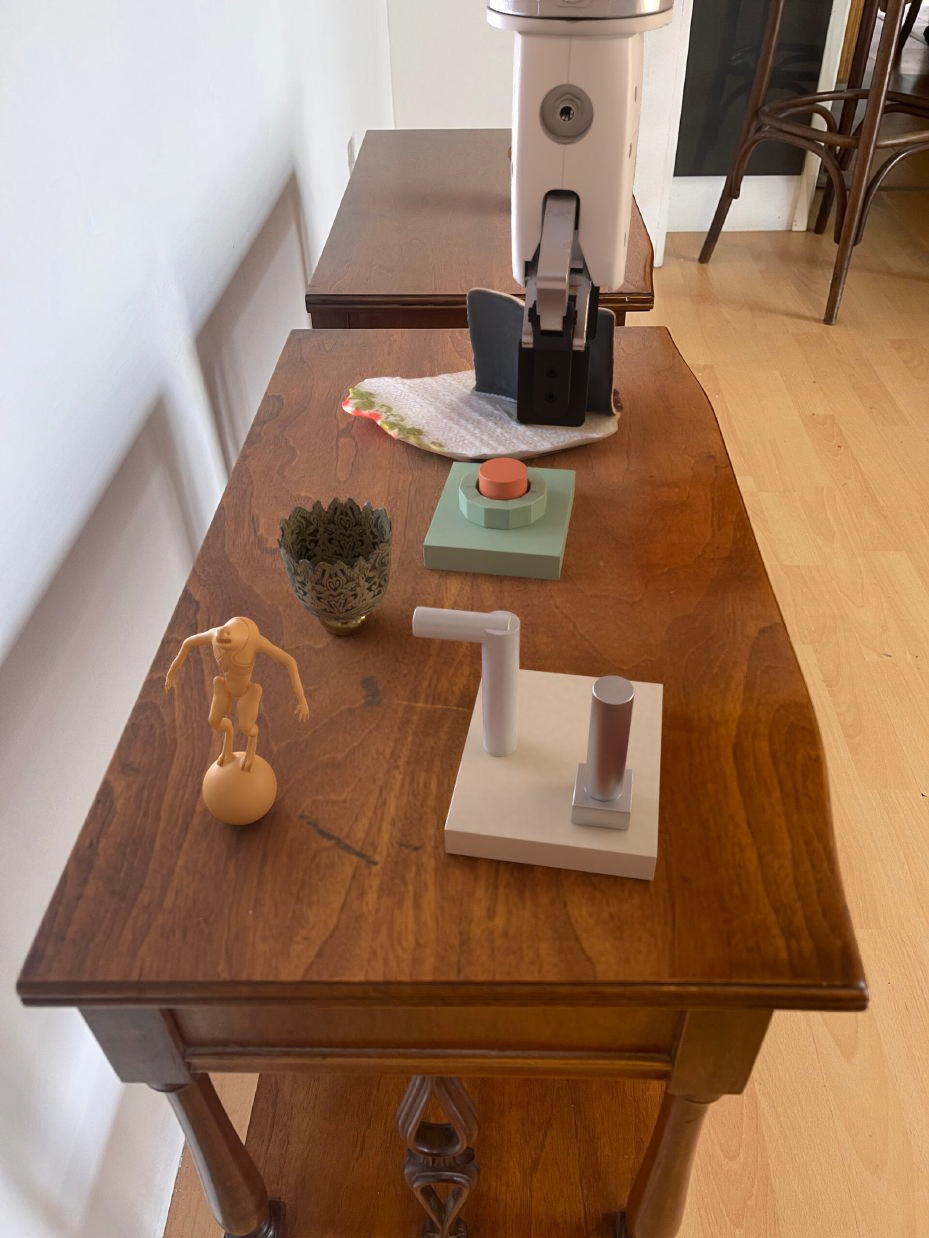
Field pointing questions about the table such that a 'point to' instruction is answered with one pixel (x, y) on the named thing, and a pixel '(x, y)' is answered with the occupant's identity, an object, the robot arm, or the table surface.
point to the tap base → (541, 759)
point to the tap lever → (606, 758)
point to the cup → (338, 561)
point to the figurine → (239, 779)
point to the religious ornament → (489, 394)
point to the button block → (501, 525)
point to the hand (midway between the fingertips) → (559, 376)
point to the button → (503, 479)
